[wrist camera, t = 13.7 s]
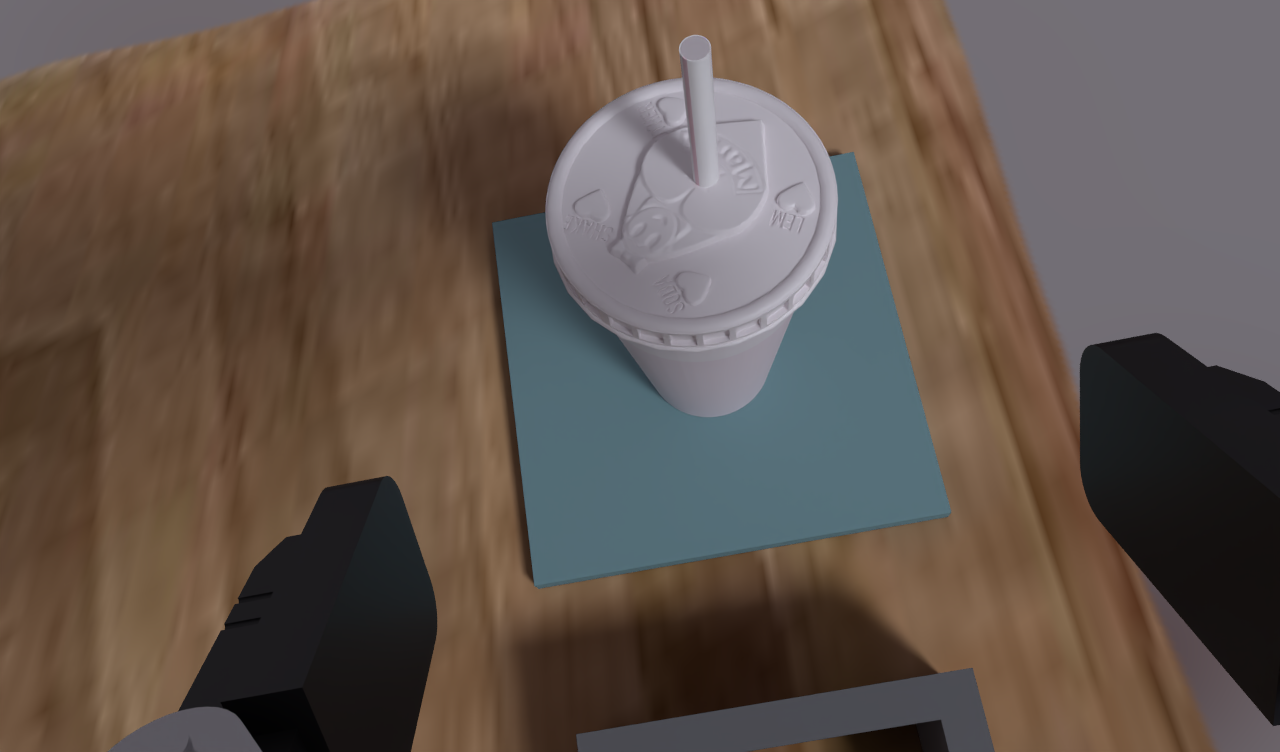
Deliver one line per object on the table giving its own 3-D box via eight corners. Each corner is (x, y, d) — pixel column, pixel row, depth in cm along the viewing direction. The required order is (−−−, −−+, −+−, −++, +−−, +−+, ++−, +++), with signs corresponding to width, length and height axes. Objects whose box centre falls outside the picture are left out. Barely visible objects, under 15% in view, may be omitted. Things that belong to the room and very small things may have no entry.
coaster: (538, 588, 29) (534, 585, 28) (496, 231, 33) (492, 222, 33) (947, 516, 28) (951, 512, 28) (851, 161, 33) (853, 151, 32)
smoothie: (859, 350, 30) (941, 44, 17) (716, 506, 29) (684, 309, 16) (701, 228, 32) (663, -131, 19) (561, 369, 31) (417, 93, 18)
